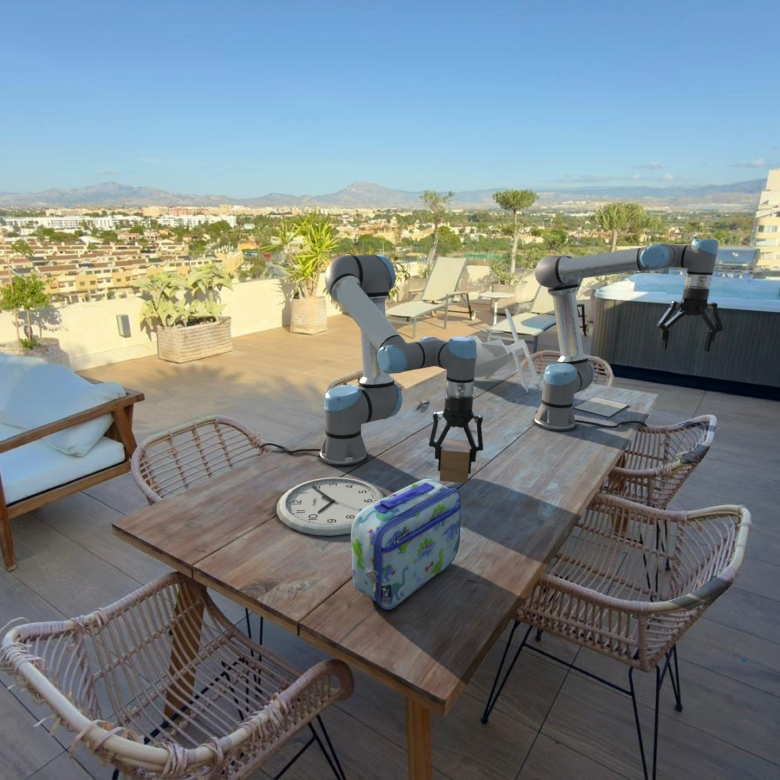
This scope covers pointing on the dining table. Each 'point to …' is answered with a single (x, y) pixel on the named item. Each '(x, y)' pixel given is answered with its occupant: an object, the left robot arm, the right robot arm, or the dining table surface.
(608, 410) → the invitation card
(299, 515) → the wall clock
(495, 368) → the white plastic object
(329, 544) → the dining table surface
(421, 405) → the fork
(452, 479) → the brown block
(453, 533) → the lunch box
